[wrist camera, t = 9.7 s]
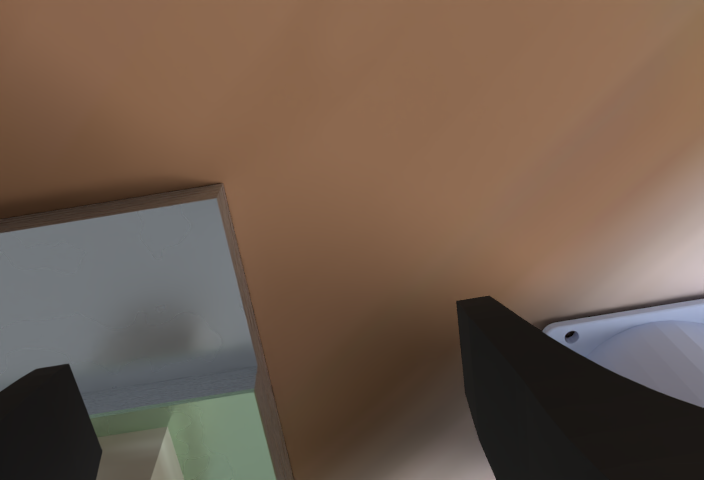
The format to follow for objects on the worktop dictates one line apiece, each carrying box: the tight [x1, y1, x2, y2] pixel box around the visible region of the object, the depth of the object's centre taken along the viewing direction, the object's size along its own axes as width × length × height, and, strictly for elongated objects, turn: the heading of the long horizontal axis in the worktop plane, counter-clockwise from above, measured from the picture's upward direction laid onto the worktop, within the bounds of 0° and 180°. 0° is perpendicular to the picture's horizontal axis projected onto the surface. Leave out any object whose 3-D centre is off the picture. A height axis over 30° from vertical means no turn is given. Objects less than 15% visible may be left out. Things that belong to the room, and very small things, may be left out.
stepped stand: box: [0, 183, 294, 480], centre depth 22 cm, size 10×18×4 cm, turn 8°
